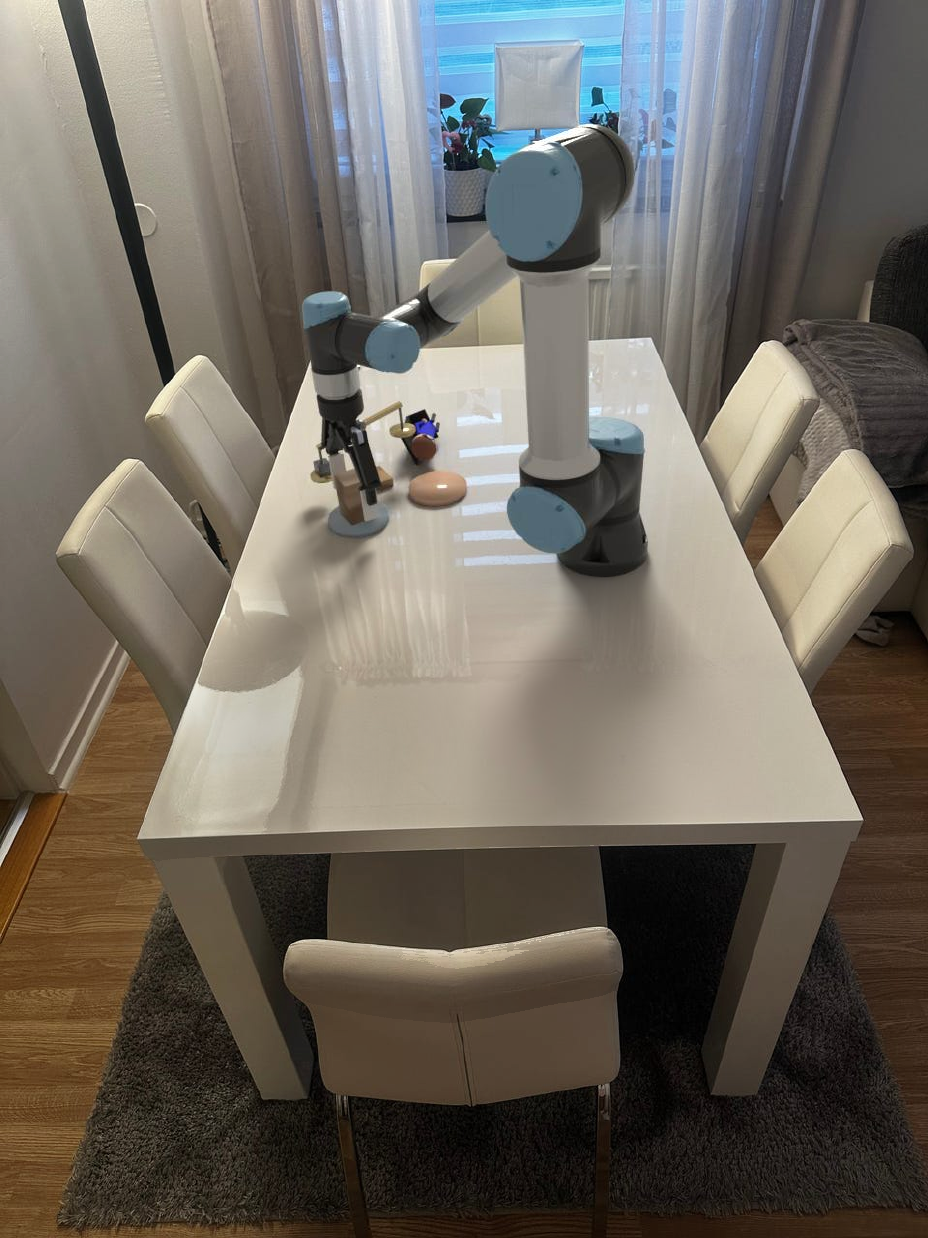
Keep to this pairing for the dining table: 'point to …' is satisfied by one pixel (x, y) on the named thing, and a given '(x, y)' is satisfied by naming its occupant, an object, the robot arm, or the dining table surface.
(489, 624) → the dining table surface
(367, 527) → the blue gray round dish
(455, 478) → the peach glossy dome
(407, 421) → the character figurine
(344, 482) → the block
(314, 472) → the balance
